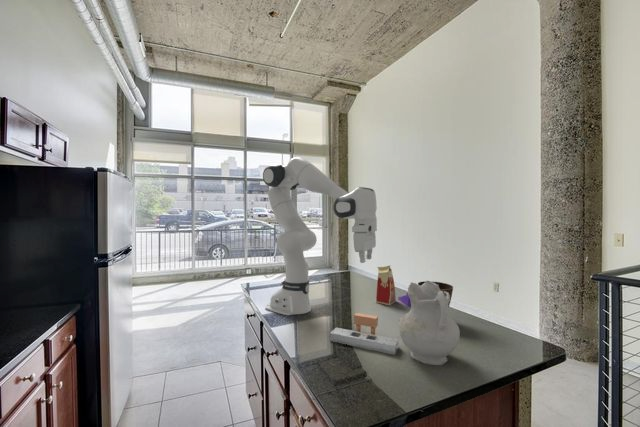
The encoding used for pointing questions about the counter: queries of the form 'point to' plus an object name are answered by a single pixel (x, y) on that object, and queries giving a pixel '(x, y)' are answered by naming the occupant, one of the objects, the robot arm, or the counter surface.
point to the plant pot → (442, 288)
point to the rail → (364, 340)
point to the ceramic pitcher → (429, 325)
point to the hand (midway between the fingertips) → (366, 260)
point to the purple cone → (405, 300)
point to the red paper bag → (385, 286)
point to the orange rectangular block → (365, 321)
